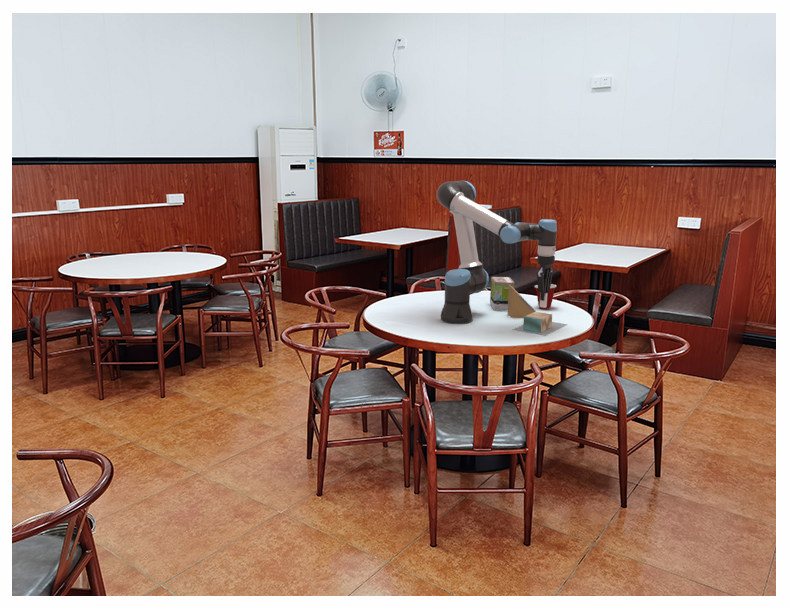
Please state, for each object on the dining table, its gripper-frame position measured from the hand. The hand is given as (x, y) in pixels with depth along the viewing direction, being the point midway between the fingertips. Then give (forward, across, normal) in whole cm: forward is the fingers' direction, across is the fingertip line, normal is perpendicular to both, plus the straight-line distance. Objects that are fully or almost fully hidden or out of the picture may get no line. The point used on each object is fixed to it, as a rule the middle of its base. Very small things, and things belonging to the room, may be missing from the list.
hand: (543, 307), depth 278 cm
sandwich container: (+10, +13, +15) cm, 22 cm away
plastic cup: (+10, +34, +15) cm, 39 cm away
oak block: (+6, +1, 0) cm, 6 cm away
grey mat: (+9, -2, 0) cm, 10 cm away
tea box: (+10, +23, +33) cm, 41 cm away
